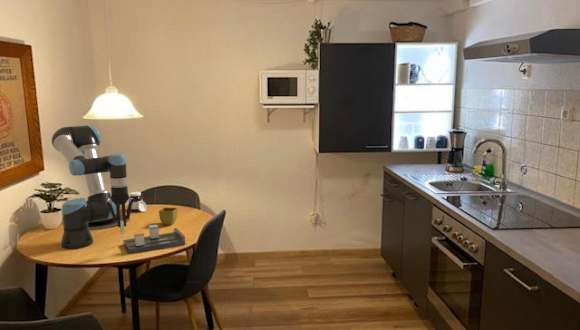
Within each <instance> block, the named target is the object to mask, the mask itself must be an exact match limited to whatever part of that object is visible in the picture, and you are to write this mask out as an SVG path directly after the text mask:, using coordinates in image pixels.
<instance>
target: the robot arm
mask: <svg viewBox="0 0 580 330" xmlns="http://www.w3.org/2000/svg"><path fill="white" fill-rule="evenodd" d="M100 135H101V134H100V133H99V130H98V128H97V127H96V126H94V125H78V126H77V125H76V126H64V127H61V128H59V129H57V130H55V132H54V133H53V134H52V137H51V144H52V147H53V148H54V149H55V150H56V151H58V152H60V153H61V154H62V156H63V157H64V158H65V159H66V161H67V162H68V169H69V172H70V174H71V175H72V176H73V177H75V176H76V177H77V176H83V175H84V176H85V181H86V185H87V188H88V193H89V195H88V196H87V199H86V198H84V197H79V198H73V199H69V200H67V201H65V202H64V203H63V204H62V205H61V214H62V215H61V216H62V224H63V225H62V226H63V234H62V238H61V241H60V244H61V248H63V249H65V250H66V249H67V250H75V249H82V248H87V247H89V246H91V245H92V244H93V243H94V238H93V235H92V233H91V231H90V228H89V223H96V222H99V221H104V220H106V221H107V220H110V219H113V220H114V221H116V222H117V224H116V225H117V228H119V230H120V231H119V232H120V234H121V235H123V234H125V227H126V226H127V220H128V219H130V218H131V217H130V216H131V212H132V211H131V207H132V203H133V202H134V199H133V198H130V194H129V193H128V191H129V190H128V176H127V164H126V163H127V159H126V156H125V154H123V153H114V154H113V153H112V154H110V155H103V156H102V157H101V156H99V155H98V152H97V150H98V149H99V148H100V147H99V146H101V142H102V141H101V136H100ZM107 172H108V173H109V181H110V191H108V190H107V187H106V183H105V180H104V175H103V173H107ZM127 202H128V204H127V205H128V206H127V210H126V203H127ZM120 206H121V208H120ZM121 216H122V219H121Z"/></svg>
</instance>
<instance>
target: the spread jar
mask: <svg viewBox="0 0 580 330" xmlns="http://www.w3.org/2000/svg"><path fill="white" fill-rule="evenodd" d="M129 197H130V198H133V199H134V202H133V203H132V207H131V212H141V213H143V212H146V211H147V208H148V207H147V203H146V202H145V201H143V196H142V193H141V191H133V192H130V193H129Z"/></svg>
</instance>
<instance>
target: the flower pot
mask: <svg viewBox="0 0 580 330" xmlns="http://www.w3.org/2000/svg"><path fill="white" fill-rule="evenodd" d="M178 208H179V207H162V208H161V209H160V210H158V216H159V219H160V222H161V224H162V225H163V226H164V225H165V226H172V225H174V224H175V222H176V220H177V216H178Z"/></svg>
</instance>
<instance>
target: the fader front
mask: <svg viewBox="0 0 580 330" xmlns="http://www.w3.org/2000/svg"><path fill="white" fill-rule="evenodd" d="M133 235H134V236H133V237H134V238H133V239H135V245H136V246H140V245H145V243H144V237H145V232H144V231H143V230H141V231H134V232H133Z"/></svg>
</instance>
